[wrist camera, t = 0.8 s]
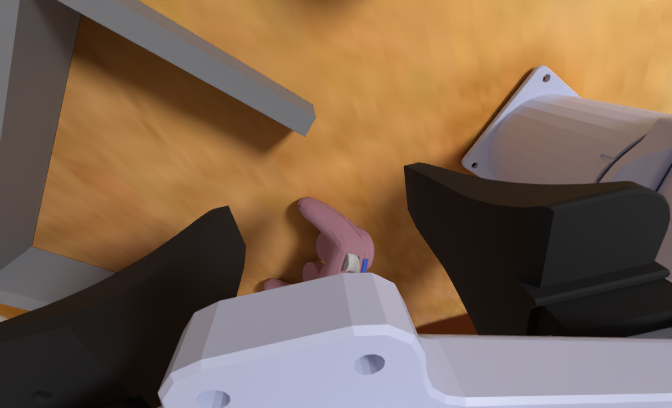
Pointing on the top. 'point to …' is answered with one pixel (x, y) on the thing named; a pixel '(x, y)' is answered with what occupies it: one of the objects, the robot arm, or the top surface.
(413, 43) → the top surface
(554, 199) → the robot arm
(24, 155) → the box
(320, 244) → the video game controller
